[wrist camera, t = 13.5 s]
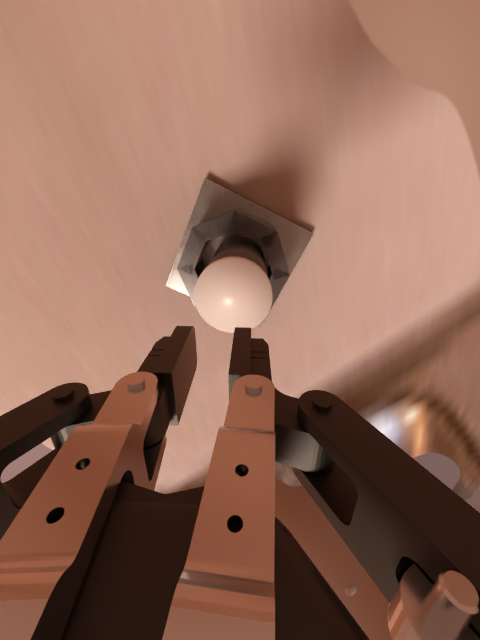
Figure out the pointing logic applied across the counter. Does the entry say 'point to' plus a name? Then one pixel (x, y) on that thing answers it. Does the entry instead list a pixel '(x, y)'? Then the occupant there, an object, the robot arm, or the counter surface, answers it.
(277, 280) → the hex nut base plate
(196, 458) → the counter surface
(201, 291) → the grey round peg
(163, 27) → the counter surface
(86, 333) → the counter surface
